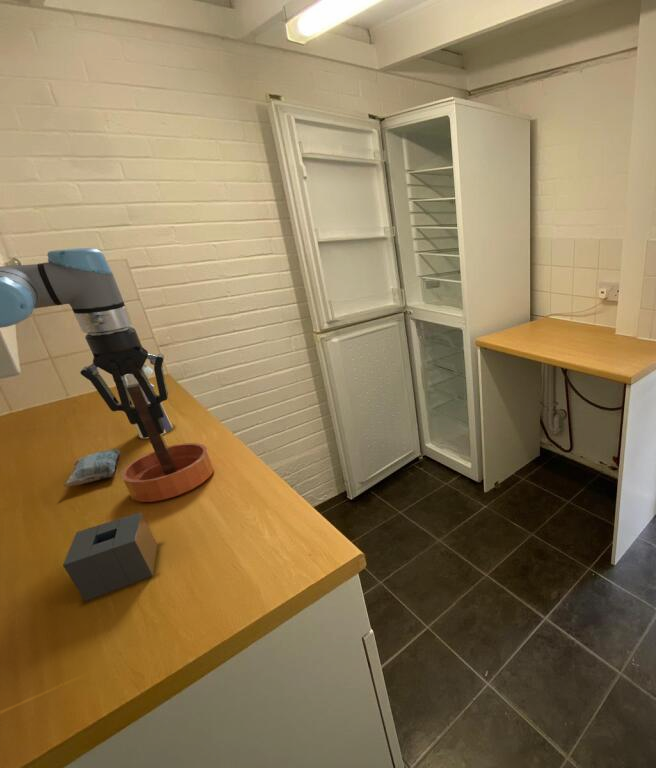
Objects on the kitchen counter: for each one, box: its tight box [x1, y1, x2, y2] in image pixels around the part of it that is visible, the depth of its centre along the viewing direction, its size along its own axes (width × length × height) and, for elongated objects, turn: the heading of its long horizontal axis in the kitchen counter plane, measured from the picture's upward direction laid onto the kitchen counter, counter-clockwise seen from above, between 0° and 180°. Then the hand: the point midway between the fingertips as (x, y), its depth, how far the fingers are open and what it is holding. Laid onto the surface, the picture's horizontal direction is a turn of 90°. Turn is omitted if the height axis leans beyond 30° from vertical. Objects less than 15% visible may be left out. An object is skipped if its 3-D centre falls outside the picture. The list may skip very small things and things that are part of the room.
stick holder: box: [62, 511, 158, 602], centre depth 72 cm, size 9×9×8 cm
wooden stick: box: [127, 383, 177, 476], centre depth 92 cm, size 2×2×24 cm
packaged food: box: [63, 449, 121, 487], centre depth 100 cm, size 9×12×5 cm
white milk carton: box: [124, 364, 173, 439], centre depth 115 cm, size 8×9×25 cm
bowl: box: [120, 442, 215, 503], centre depth 96 cm, size 16×16×6 cm
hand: (154, 432), depth 92 cm, fingers closed on wooden stick, 2 cm apart
